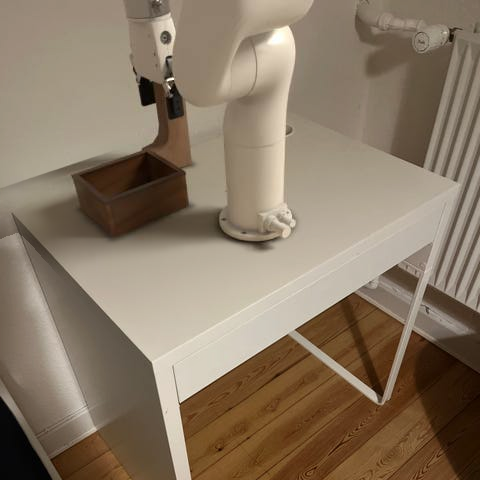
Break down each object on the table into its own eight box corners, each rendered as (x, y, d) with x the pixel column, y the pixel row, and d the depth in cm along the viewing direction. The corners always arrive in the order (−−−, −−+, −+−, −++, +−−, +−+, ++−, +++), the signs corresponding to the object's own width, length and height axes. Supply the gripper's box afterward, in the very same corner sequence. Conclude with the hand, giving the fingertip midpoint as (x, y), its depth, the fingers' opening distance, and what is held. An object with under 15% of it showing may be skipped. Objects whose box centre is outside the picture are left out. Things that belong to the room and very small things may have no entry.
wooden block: (153, 177, 101) (138, 83, 89) (144, 168, 104) (128, 76, 92) (192, 164, 105) (183, 72, 93) (182, 156, 108) (171, 66, 95)
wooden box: (189, 206, 93) (186, 171, 88) (113, 238, 86) (104, 202, 81) (153, 181, 100) (148, 148, 96) (80, 208, 93) (70, 174, 89)
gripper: (194, 10, 81) (204, 117, 93) (140, -3, 92) (155, 95, 103) (155, 19, 78) (170, 129, 89) (103, 4, 88) (123, 104, 100)
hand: (162, 110), depth 96 cm, fingers open, 9 cm apart
